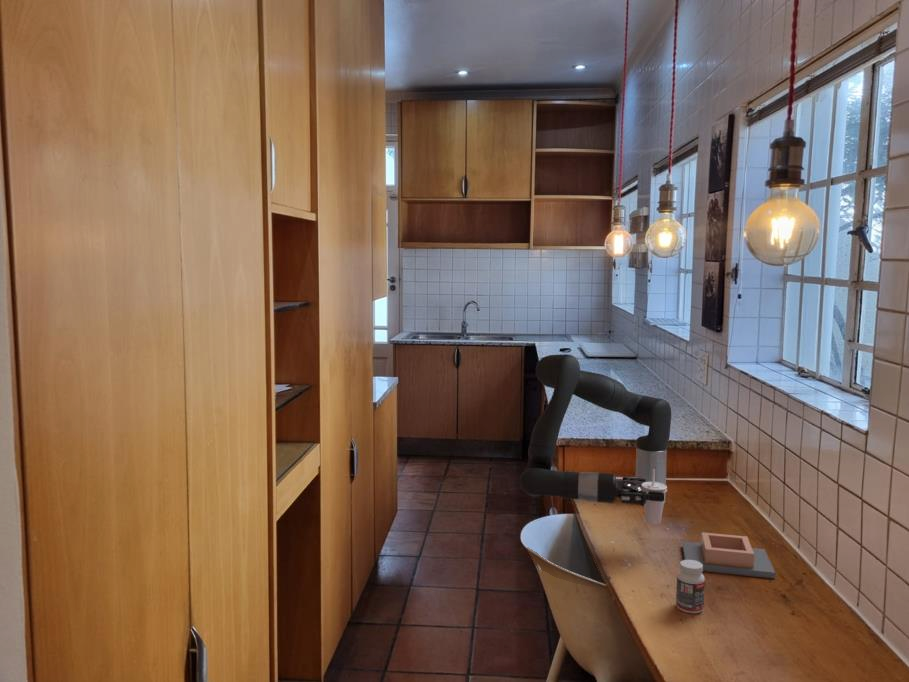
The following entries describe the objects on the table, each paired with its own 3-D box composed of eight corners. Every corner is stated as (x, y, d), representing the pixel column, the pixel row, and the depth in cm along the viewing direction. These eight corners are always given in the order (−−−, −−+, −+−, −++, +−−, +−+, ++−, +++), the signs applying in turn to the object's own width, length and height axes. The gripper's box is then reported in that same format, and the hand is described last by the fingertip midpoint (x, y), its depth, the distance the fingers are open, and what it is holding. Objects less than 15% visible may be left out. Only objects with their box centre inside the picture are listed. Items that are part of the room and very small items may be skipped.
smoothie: (635, 522, 174) (637, 469, 172) (647, 515, 179) (648, 463, 177) (659, 528, 170) (660, 474, 168) (670, 521, 174) (672, 468, 173)
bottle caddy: (682, 546, 179) (683, 528, 179) (764, 554, 174) (765, 536, 174) (686, 569, 166) (686, 549, 166) (774, 578, 161) (775, 558, 160)
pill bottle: (700, 617, 143) (702, 572, 142) (673, 610, 146) (674, 565, 145) (706, 605, 148) (707, 562, 147) (679, 599, 151) (681, 556, 150)
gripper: (595, 482, 170) (665, 487, 165) (598, 465, 183) (663, 469, 179) (594, 510, 170) (664, 516, 166) (598, 492, 184) (662, 497, 180)
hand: (663, 492), depth 173 cm, fingers closed on smoothie, 6 cm apart
